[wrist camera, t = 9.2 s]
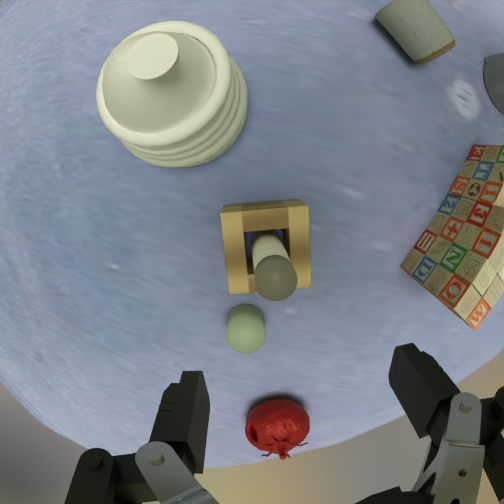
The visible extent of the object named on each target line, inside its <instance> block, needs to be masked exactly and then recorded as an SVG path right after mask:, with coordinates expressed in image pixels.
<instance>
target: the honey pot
mask: <svg viewBox="0 0 504 504" xmlns="http://www.w3.org/2000/svg"><path fill="white" fill-rule="evenodd" d="M185 34H186V35H185ZM247 92H248V89H247V85H246V82H245V78H244V75H243V72H242V71H241V69H240V68H239V66H238V65H237V63H236V62H235V60H234V59H233V58H232V57H231V56H230V55H228V52H227V50H226V48H225V47H224V46H223V44H222V43H221V41H220V40H219V38H218V37H217V36H215V35H214V34H213V33H211V32H210V31H209V30H207V29H206V28H205V27H202V26H199V25H197V24H194V23H191V22H185V21H166V22H159V23H155V24H152V25H149V26H147V27H144V28H142V29H139V30H137V31H136V32H134V33H133V34H131V35H130V36H128V37H127V38H125V39H124V40H123V41H122V42H121V43H120V44H119V45H118V46H117V47H116V48H115V49H114V50H113V51H112V52H111V54H110V55H109V57H108V59H107V60H106V62H105V63H104V65H103V67H102V70H101V73H100V76H99V79H98V81H97V91H96V101H97V106H98V111H99V114H100V116H101V118H102V120H103V122H104V124H105V126H106V127H107V128H108V129H109V130H110V131H111V132H112V133H113V134H114V135H115V136H116V137H118V138H120V140H121V141H122V143H123V145H124V146H125V147H126V148H127V149H128V150H129V151H130V152H131V153H133V154H134V155H135V156H136V157H138V158H140V159H142V160H144V161H145V162H147V163H149V164H152V165H157V166H161V167H166V168H171V167H192V166H197V165H200V164H204V163H207V162H210V161H212V160H213V159H215V158H217V157H218V156H220V155H222V154H223V153H224V152H225V151H226V150H227V149H228V148H229V147H230V146H231V145H233V144H234V142H235V141H236V139H237V138H238V136H239V134H240V133H241V131H242V129H243V126H244V123H245V119H246V116H247Z"/></svg>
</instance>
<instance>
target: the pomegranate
mask: <svg viewBox="0 0 504 504" xmlns="http://www.w3.org/2000/svg"><path fill="white" fill-rule="evenodd" d="M309 430H310V421H309V416H308V414H307V412H306V411H305V410H304V409H303V407H301V406H300V405H298V404H296V403H295V402H293V401H290V400H288V399H283V398H281V399H274V400H268V401H265V402H262V403H261V404H259V405H257V406H256V407H254V408H253V409H252V410H251V411H250V412H249V414H248V416H247V420H246V426H245V433H246V436H247V439H248V440H249V442H250V443H251V444H252V445H253V446H255V447H257V448H258V449H259V450H264V451H268V452H269V453H268V454H267V455H264V454H263V455H262V456H266V457H267V456H269V455H270V454H272V453H275V454H279V457H280V459H286V458H287V457H286V456H288V457H290V455H289V454H288V453H287V451H289V450H291V449H292V448H294V447H296V446H303V445H305V444H307V443H308V442H307V443H304V444H301V445H299V444H300V443H301V442H302V441H303V440H304V439H305V438H306V436H307V434H308V433H309ZM309 444H310V443H309ZM262 456H261V457H262Z"/></svg>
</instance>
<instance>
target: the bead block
mask: <svg viewBox="0 0 504 504" xmlns="http://www.w3.org/2000/svg"><path fill="white" fill-rule="evenodd" d="M220 216H221V225H222V234H223V242H224V251H225V259H226V267H227V275H228V283H229V291H230V294H242V293H253V292H258V291H257V289H256V285H255V276H254V265H253V258H247V253H246V243H245V232H249V231H260V230H271V229H283V239H284V248H285V250H286V252H287V254H288V257H289V259H290V261H291V263H292V265H293V267H294V269H295V272H296V274H297V278H298V282H297V286H296V288H304V287H311V265H310V229H309V206H308V205H306V204H305V203H303V202H302V201H300V200H299V199H297V200H283V201H270V202H258V203H247V204H236V205H226V206H224V207H223V209H222V211H221V213H220Z"/></svg>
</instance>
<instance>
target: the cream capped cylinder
mask: <svg viewBox="0 0 504 504" xmlns="http://www.w3.org/2000/svg"><path fill="white" fill-rule="evenodd" d="M251 244H252V254H253V265H254V276H255V285H256V289H257V291H258V292H259V294H260V295H261V296H262V297H264V298H266V299H268V300H272V301H279V300H283V299H285V298H287V297H289V296H290V295H291V294H292V293H293V292H294V290H295V289H296V286H297V282H298V278H297V274H296V272H295V269H294V267H293V265H292V263H291V261H290V259H289V257H288V254H287V252H286V250H285V248H284V246H283V244H282V242H281V240H280V238H279V235H278V233H277V231H276V230H275V229H271V230H260V231H253V233H252V235H251Z"/></svg>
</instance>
